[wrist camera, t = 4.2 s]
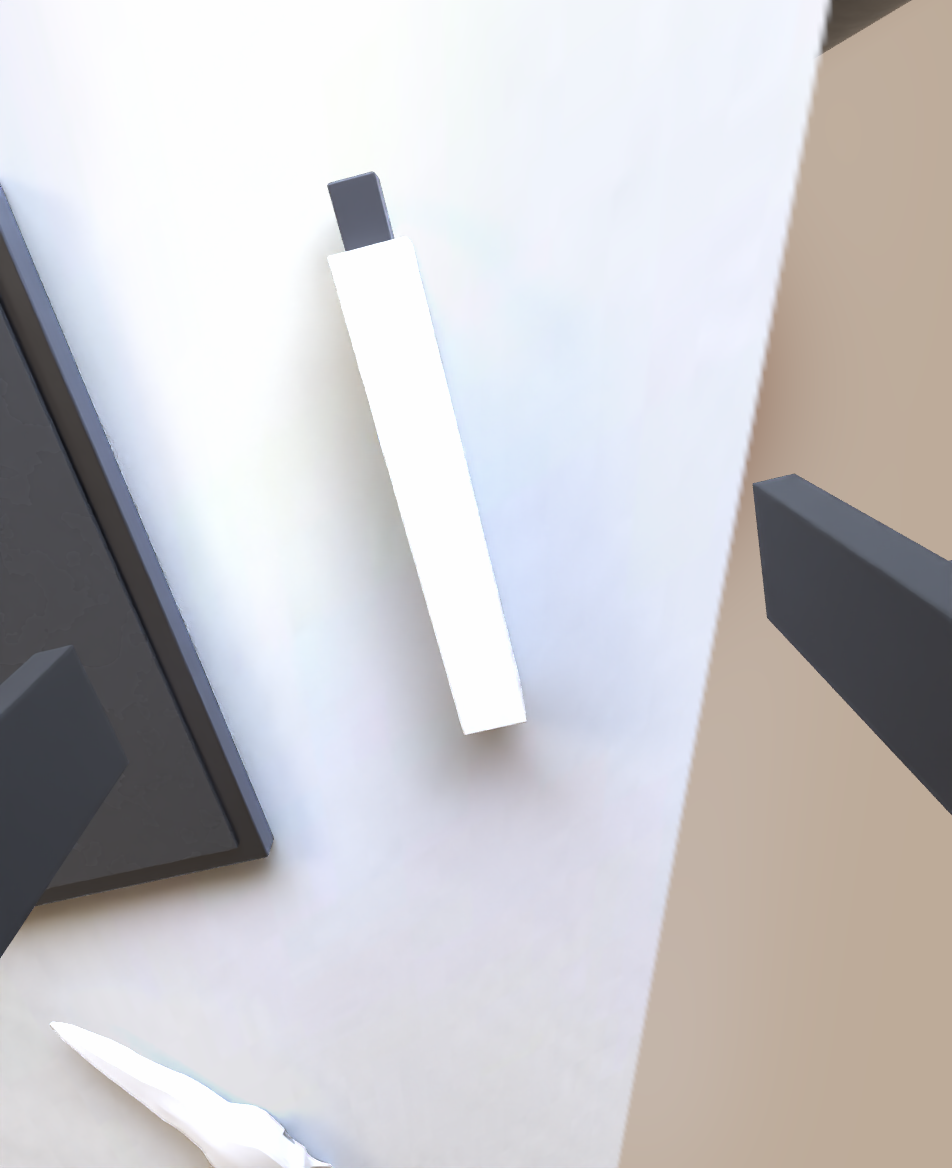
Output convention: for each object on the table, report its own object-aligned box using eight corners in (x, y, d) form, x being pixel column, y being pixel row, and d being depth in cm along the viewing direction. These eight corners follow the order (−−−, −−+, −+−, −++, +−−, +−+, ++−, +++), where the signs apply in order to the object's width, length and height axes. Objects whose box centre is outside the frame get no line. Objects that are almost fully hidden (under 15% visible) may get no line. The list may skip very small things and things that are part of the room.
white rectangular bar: (395, 175, 20) (388, 163, 18) (521, 684, 26) (527, 722, 24) (322, 194, 21) (305, 184, 18) (463, 697, 26) (463, 736, 24)
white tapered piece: (359, 1160, 35) (354, 1207, 33) (320, 1187, 35) (312, 1235, 34) (80, 984, 31) (58, 1028, 29) (41, 1019, 31) (16, 1064, 29)
